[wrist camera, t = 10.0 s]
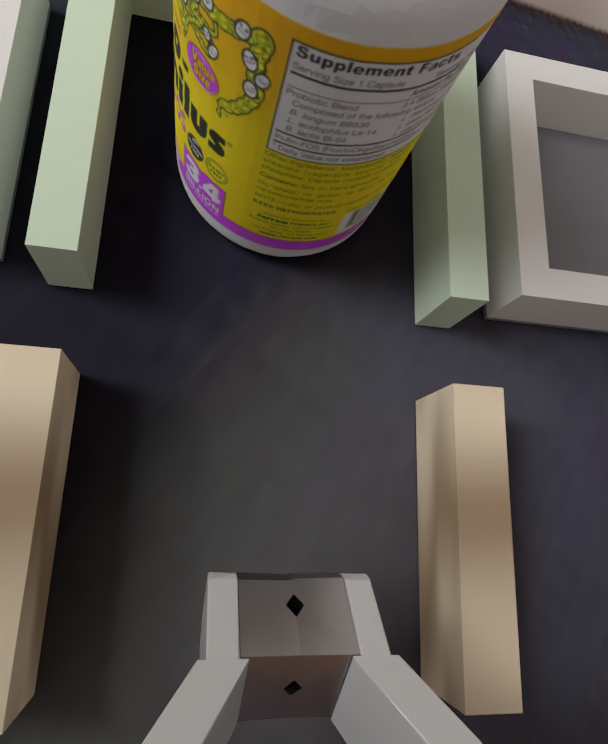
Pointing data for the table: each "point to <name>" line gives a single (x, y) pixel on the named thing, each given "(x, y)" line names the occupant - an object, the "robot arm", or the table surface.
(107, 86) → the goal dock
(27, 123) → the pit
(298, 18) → the supplement bottle
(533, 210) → the tray
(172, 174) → the table surface
